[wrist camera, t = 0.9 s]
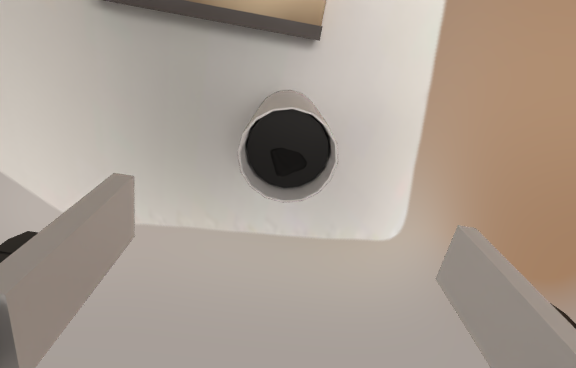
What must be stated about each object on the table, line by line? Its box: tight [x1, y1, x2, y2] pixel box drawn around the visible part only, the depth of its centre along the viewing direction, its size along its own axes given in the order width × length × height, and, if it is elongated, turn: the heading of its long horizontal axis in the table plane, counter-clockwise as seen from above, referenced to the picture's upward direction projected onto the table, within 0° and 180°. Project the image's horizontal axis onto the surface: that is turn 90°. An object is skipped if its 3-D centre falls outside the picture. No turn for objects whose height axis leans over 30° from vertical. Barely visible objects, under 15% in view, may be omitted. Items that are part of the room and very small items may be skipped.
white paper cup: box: [237, 90, 338, 203], centre depth 27 cm, size 7×7×10 cm
